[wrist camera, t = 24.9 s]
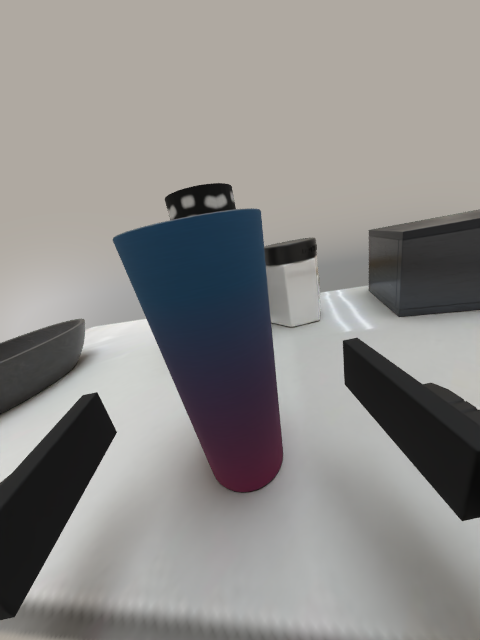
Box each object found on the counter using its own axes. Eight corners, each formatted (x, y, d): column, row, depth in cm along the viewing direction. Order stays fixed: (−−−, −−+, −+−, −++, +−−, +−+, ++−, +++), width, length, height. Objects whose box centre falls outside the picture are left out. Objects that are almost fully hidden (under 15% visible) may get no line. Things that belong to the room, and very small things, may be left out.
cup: (271, 535, 11) (194, 208, 6) (178, 479, 15) (82, 246, 10) (309, 431, 17) (283, 207, 12) (232, 409, 20) (187, 232, 15)
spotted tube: (196, 354, 32) (150, 198, 25) (214, 330, 39) (183, 205, 33) (254, 350, 30) (221, 178, 23) (261, 325, 37) (238, 190, 31)
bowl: (117, 347, 41) (104, 315, 39) (-52, 463, 21) (-99, 409, 19) (67, 351, 44) (52, 322, 42) (-120, 454, 24) (-167, 408, 22)
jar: (320, 326, 33) (313, 240, 29) (265, 328, 36) (253, 250, 32) (322, 306, 40) (317, 235, 36) (277, 309, 43) (268, 244, 39)
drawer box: (472, 278, 39) (482, 208, 35) (556, 302, 26) (587, 199, 23) (368, 290, 43) (368, 230, 40) (399, 316, 31) (403, 231, 27)
